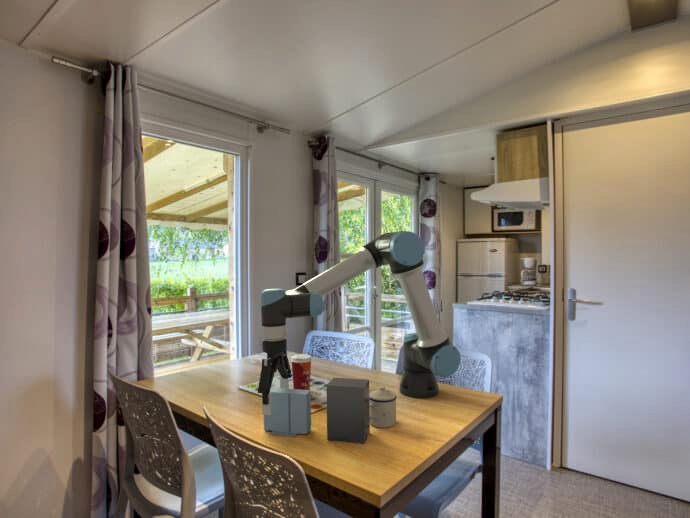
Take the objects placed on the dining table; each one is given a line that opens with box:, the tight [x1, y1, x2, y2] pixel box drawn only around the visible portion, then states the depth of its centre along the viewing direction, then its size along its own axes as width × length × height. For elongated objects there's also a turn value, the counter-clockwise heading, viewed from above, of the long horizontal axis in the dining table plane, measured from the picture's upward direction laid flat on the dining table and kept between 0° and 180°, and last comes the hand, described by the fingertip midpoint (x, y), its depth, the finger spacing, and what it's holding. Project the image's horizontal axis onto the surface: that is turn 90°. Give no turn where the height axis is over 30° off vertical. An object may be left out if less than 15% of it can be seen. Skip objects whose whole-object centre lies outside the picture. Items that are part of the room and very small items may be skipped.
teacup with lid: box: [369, 385, 397, 429], centre depth 134 cm, size 12×9×12 cm
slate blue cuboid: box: [263, 387, 312, 435], centre depth 130 cm, size 14×4×12 cm, turn 76°
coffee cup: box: [290, 353, 313, 390], centre depth 163 cm, size 8×8×15 cm
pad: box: [270, 431, 299, 438], centre depth 130 cm, size 8×8×1 cm
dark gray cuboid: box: [323, 377, 371, 445], centre depth 126 cm, size 12×8×16 cm, turn 76°
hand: (276, 406), depth 131 cm, fingers open, 13 cm apart
